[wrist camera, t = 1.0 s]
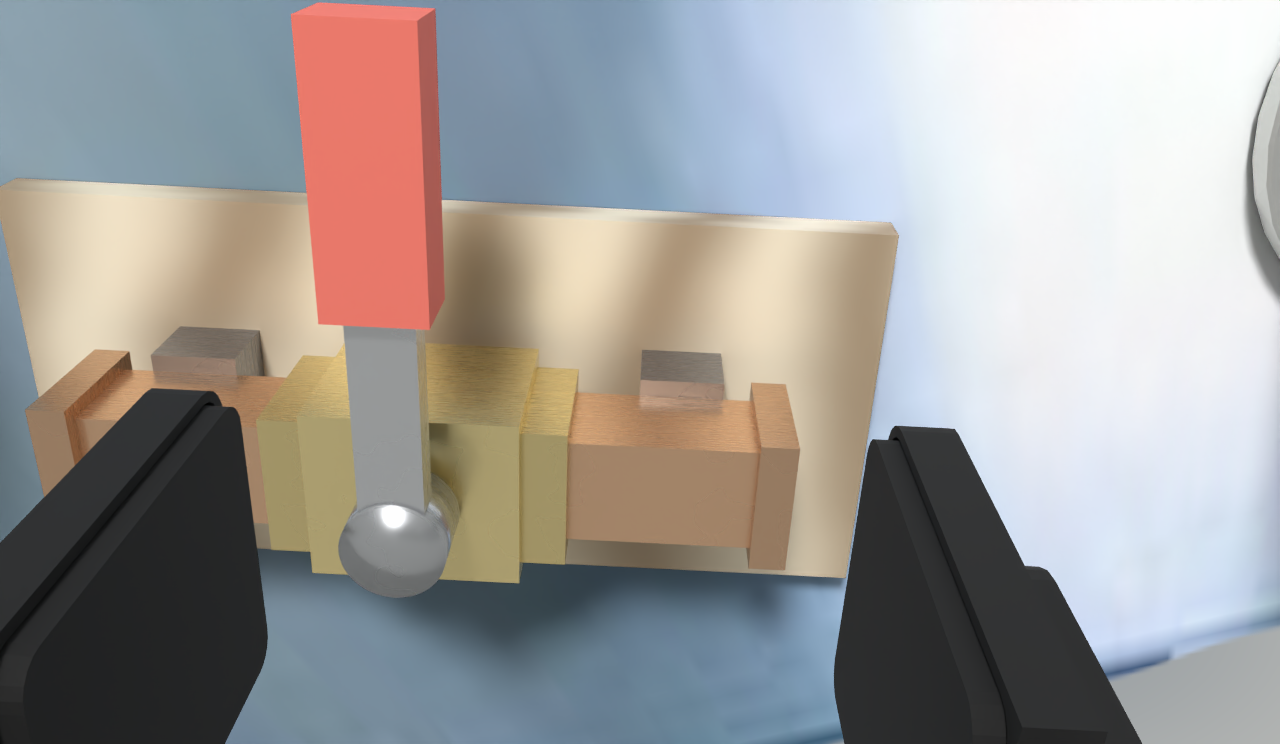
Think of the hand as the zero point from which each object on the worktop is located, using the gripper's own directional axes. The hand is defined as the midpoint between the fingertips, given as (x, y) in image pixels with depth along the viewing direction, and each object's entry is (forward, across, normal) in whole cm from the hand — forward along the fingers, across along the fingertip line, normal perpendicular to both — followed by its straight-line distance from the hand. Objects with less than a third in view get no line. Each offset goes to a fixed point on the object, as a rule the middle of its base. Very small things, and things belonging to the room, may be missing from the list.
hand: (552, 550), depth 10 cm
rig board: (+23, +5, +10) cm, 25 cm away
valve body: (+21, +5, +10) cm, 24 cm away
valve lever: (+15, +5, +4) cm, 16 cm away
